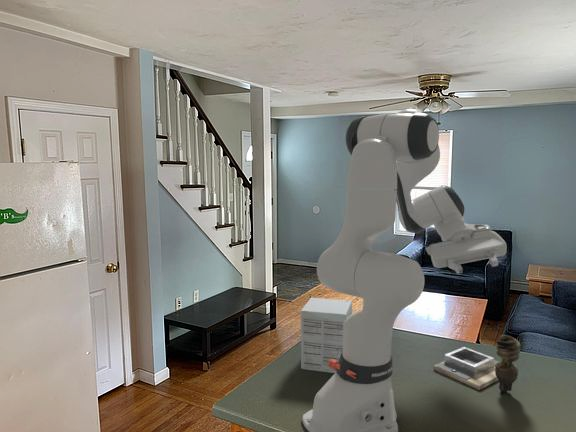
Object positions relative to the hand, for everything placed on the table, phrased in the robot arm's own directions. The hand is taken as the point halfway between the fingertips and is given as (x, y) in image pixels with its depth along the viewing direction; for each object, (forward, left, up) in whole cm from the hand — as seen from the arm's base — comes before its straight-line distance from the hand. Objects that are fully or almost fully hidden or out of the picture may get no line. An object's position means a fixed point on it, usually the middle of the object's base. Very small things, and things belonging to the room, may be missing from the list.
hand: (477, 267), depth 117 cm
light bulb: (-2, -10, -31) cm, 32 cm away
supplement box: (-28, +30, -31) cm, 51 cm away
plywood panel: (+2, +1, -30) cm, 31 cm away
